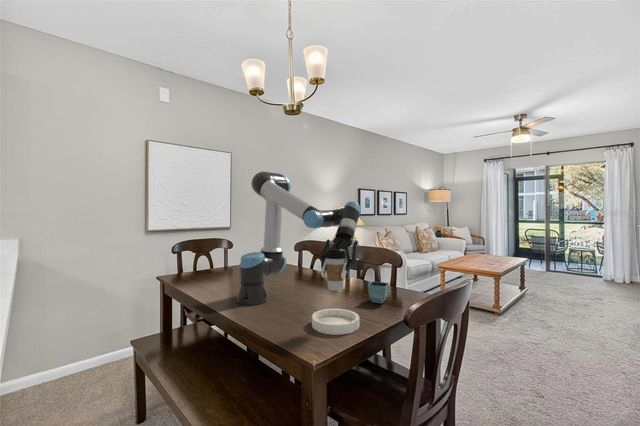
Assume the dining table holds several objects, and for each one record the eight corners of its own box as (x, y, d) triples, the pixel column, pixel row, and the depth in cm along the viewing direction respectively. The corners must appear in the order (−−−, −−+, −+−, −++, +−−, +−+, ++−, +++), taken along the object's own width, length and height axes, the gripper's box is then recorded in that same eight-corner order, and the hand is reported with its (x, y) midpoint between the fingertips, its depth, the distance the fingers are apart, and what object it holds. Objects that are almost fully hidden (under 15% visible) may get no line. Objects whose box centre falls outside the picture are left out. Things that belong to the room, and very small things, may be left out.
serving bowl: (325, 338, 109) (325, 328, 109) (304, 321, 126) (304, 312, 126) (368, 329, 118) (368, 320, 118) (343, 314, 134) (343, 306, 134)
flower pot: (389, 300, 154) (389, 282, 154) (385, 305, 146) (385, 286, 146) (372, 298, 158) (372, 281, 158) (367, 303, 150) (367, 284, 150)
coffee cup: (340, 292, 116) (339, 252, 116) (320, 289, 120) (320, 251, 120) (350, 287, 123) (350, 250, 123) (331, 285, 127) (331, 248, 127)
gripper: (370, 237, 131) (360, 284, 117) (326, 236, 140) (311, 279, 125) (367, 225, 126) (356, 272, 112) (321, 225, 135) (305, 268, 120)
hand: (332, 276), depth 118 cm, fingers closed on coffee cup, 8 cm apart
